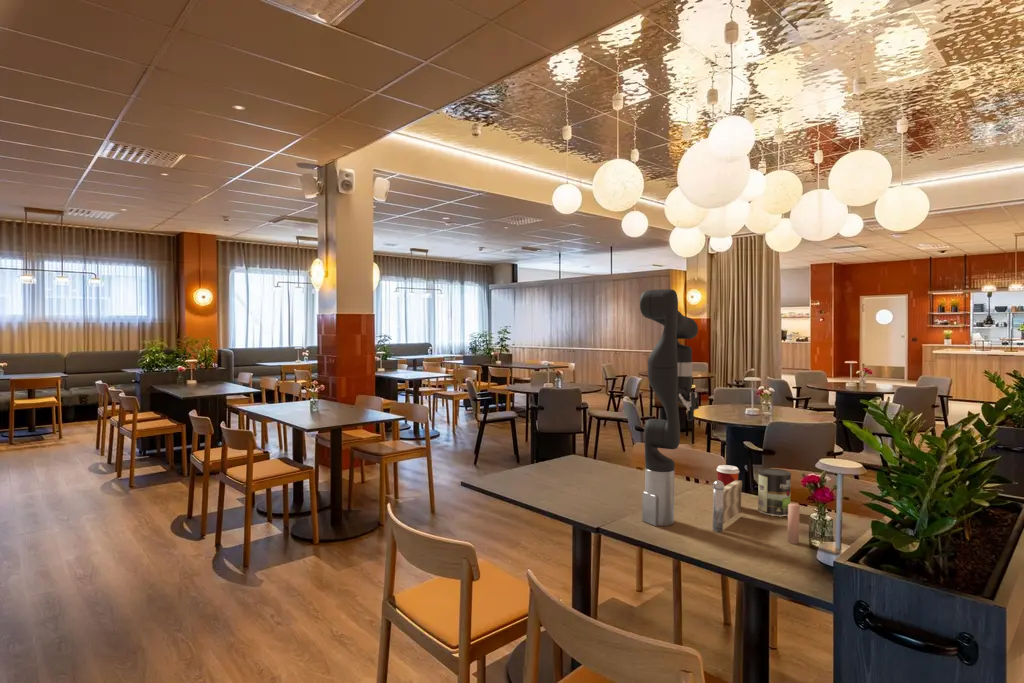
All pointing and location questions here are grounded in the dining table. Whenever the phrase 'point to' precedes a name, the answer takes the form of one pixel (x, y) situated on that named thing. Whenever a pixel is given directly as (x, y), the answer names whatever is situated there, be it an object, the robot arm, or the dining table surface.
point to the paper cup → (727, 474)
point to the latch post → (793, 523)
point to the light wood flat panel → (731, 500)
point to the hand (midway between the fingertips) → (680, 419)
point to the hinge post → (718, 506)
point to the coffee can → (774, 491)
